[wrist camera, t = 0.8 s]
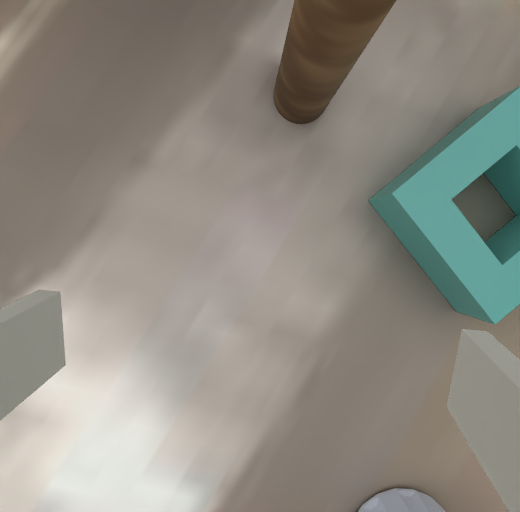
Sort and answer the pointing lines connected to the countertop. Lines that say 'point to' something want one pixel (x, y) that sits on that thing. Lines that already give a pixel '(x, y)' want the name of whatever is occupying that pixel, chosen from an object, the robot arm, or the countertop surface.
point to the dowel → (322, 52)
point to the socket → (453, 221)
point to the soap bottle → (401, 502)
